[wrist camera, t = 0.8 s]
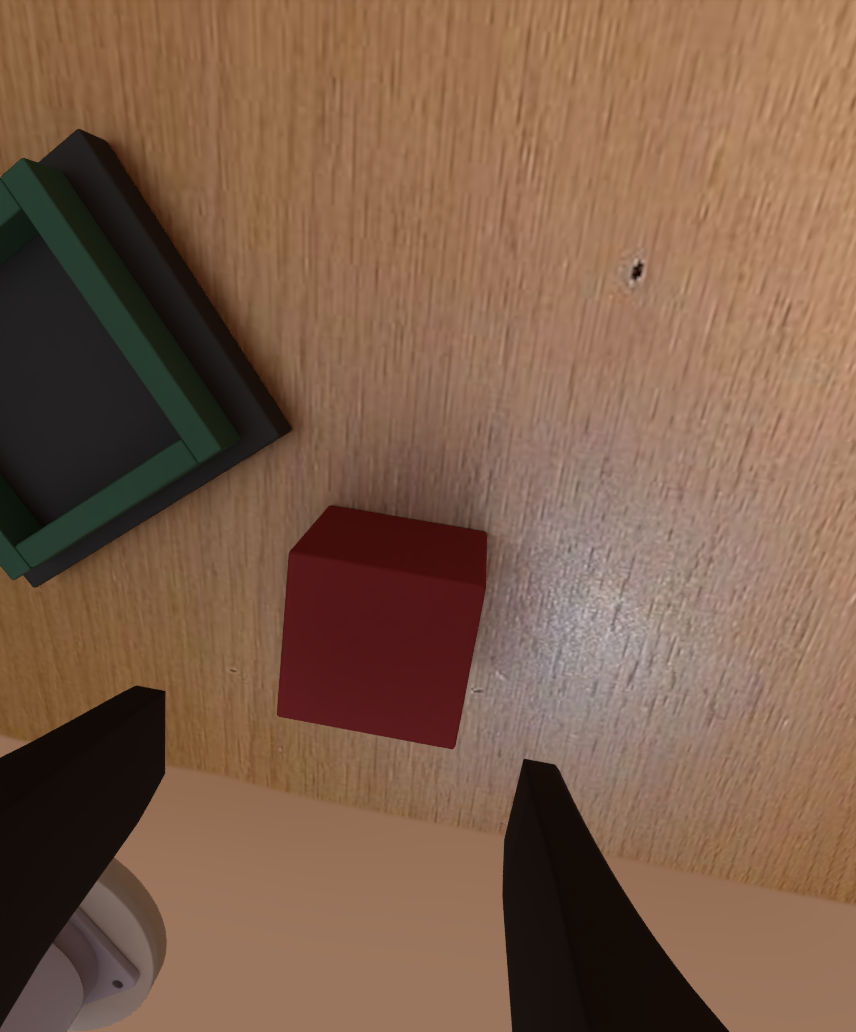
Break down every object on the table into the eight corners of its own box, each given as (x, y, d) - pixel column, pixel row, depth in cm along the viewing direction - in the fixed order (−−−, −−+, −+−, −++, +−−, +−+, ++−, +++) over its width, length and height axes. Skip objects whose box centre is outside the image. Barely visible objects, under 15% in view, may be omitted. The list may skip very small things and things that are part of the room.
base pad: (58, 574, 21) (-1, 609, 18) (-130, 337, 19) (-224, 340, 16) (293, 429, 18) (262, 447, 16) (106, 139, 16) (38, 108, 14)
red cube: (315, 643, 21) (275, 717, 17) (328, 504, 19) (287, 551, 15) (461, 670, 20) (454, 751, 17) (487, 531, 19) (486, 586, 15)
